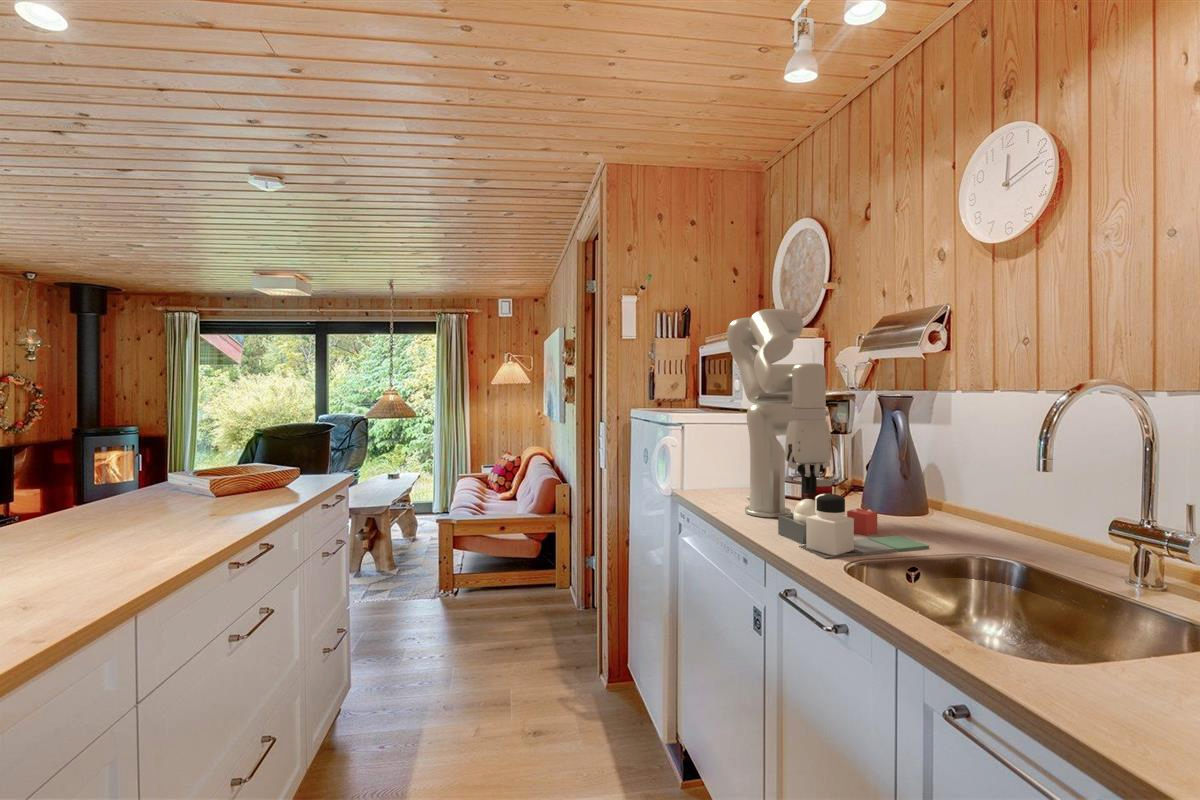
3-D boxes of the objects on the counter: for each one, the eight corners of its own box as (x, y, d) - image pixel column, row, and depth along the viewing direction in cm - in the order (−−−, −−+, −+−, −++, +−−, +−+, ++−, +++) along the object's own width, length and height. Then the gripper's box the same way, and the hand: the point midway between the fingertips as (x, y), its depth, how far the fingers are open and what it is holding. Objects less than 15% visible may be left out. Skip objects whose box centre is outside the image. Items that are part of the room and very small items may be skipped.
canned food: (827, 519, 155) (827, 479, 155) (836, 526, 147) (836, 484, 147) (798, 519, 156) (798, 478, 155) (805, 526, 148) (805, 483, 147)
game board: (799, 547, 129) (799, 544, 129) (897, 537, 136) (897, 535, 136) (825, 558, 120) (825, 556, 120) (929, 548, 127) (929, 545, 127)
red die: (847, 531, 143) (847, 508, 142) (858, 527, 146) (858, 506, 145) (866, 535, 139) (866, 512, 138) (877, 531, 141) (877, 509, 141)
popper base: (778, 533, 140) (778, 515, 140) (813, 530, 143) (813, 512, 143) (803, 544, 131) (803, 525, 131) (840, 541, 133) (840, 522, 133)
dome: (787, 523, 139) (787, 497, 139) (812, 521, 141) (812, 495, 141) (804, 530, 133) (804, 502, 132) (830, 528, 134) (830, 501, 134)
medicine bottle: (854, 550, 125) (854, 495, 124) (835, 556, 121) (835, 499, 120) (825, 543, 131) (825, 490, 130) (805, 548, 126) (805, 494, 126)
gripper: (825, 414, 142) (825, 488, 142) (772, 415, 138) (772, 491, 138) (846, 415, 134) (846, 493, 135) (790, 416, 130) (790, 497, 131)
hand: (809, 492), depth 136 cm, fingers closed
